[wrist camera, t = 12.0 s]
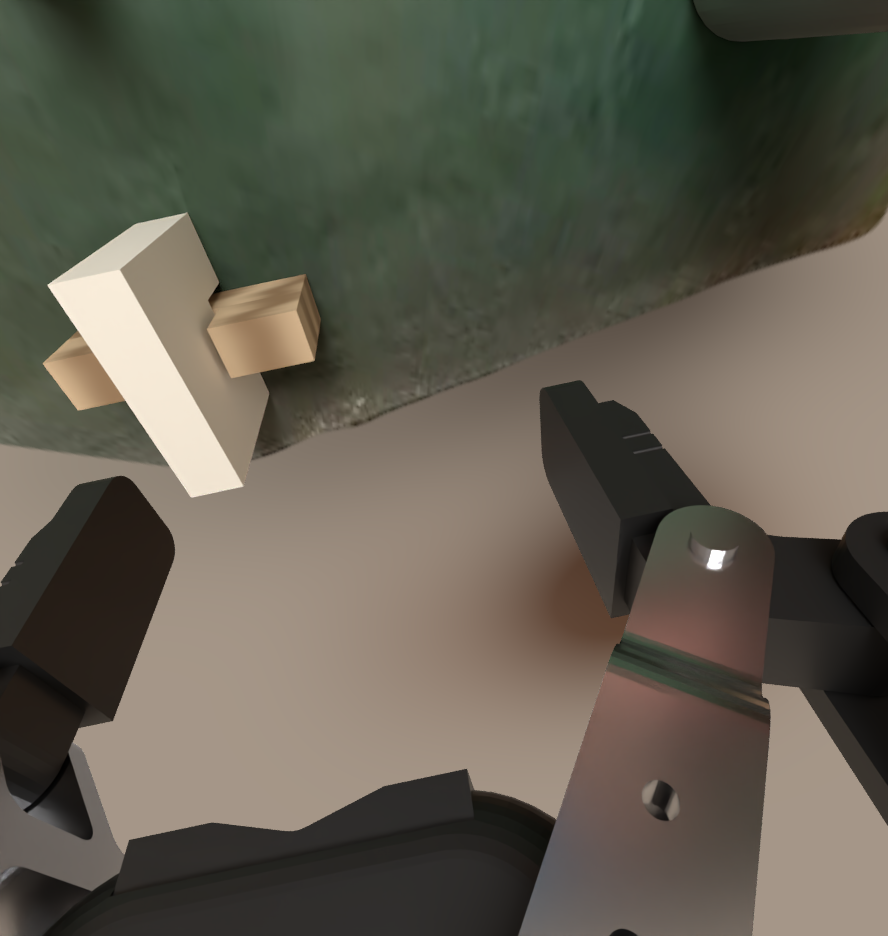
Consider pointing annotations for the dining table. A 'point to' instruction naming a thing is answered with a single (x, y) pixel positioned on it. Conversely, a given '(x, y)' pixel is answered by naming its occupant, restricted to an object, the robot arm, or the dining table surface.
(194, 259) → the white rectangular block
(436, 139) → the dining table surface
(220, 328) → the oak base
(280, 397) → the dining table surface
